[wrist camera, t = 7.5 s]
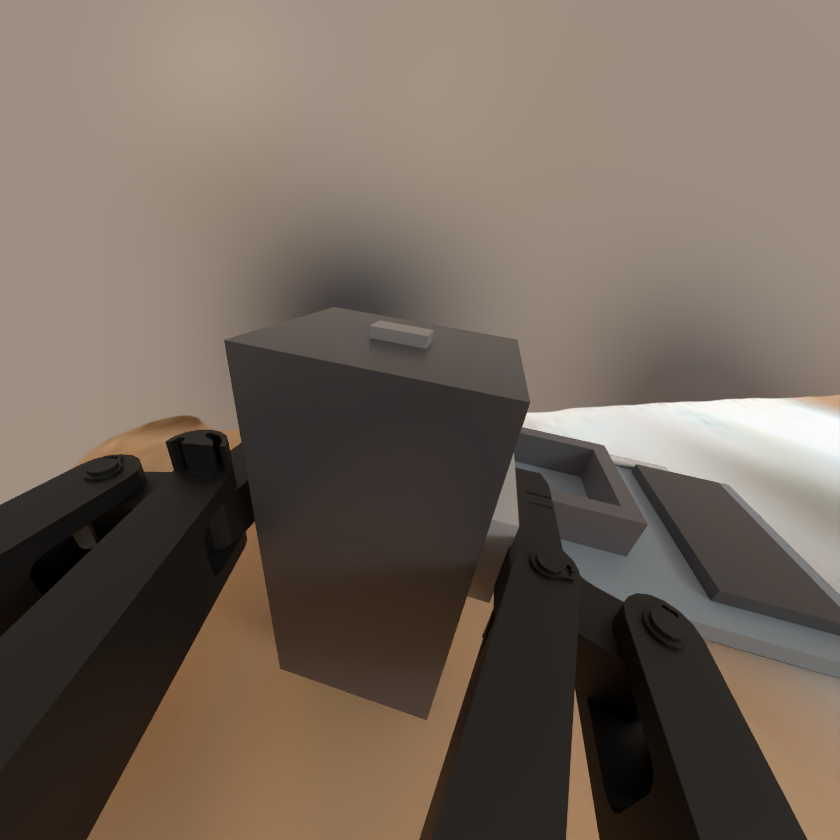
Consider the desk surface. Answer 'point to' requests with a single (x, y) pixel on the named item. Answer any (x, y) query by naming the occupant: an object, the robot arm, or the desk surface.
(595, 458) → the charging dock
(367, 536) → the brick
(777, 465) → the desk surface
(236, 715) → the desk surface
